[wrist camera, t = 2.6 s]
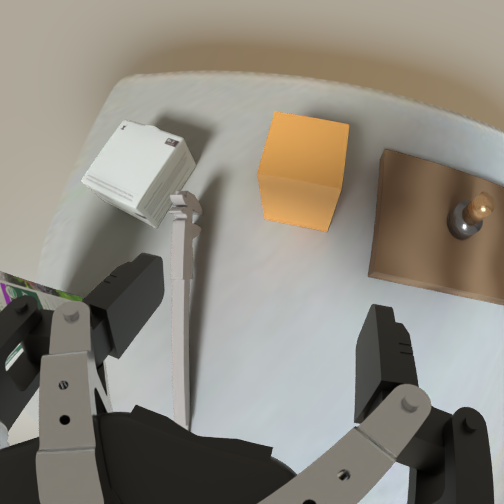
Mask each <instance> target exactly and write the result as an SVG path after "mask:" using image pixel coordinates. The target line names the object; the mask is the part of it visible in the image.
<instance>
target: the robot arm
mask: <svg viewBox="0 0 504 504" xmlns="http://www.w3.org/2000/svg"><path fill="white" fill-rule="evenodd" d="M163 296H164V276H163V261H162V258H161V257H160V256H156V255H151V254H147V253H141V254H140V255H139V256H138V257H137V258H136V259H135V260H134V261H132V262H127V263H125V264H123V265H121V266H119V267H117V268H116V269H115V270H114V271H113V272H112V273H111V274H110V276H108V277H107V278H106V279H104V282H101V283H100V284H99V285H98V286H97V287H96V288H95V289H94V290H93V291H92V292H91V293H90V294H89V295H88V296H87V297H86V298H85V299H84V300H83V301H82V302H81V301H69V302H66V303H63V304H62V305H60V306H59V307H57V308H56V310H47V309H40V308H39V305H38V302H37V300H36V298H34V297H33V296H28V295H25V296H20V297H17V298H15V299H14V300H12V301H11V302H10V303H9V304H8V305H7V306H6V307H5V308H4V309H3V310H2V311H1V312H0V504H357V503H358V502H359V501H360V500H361V499H362V498H363V497H364V496H365V495H366V494H367V493H368V492H369V491H370V490H371V489H372V488H373V487H374V486H375V485H376V483H377V482H378V481H379V480H380V479H381V478H382V477H383V476H384V474H385V473H386V472H387V471H388V470H389V469H390V468H391V466H392V465H393V464H394V463H395V462H398V463H401V464H403V465H406V466H409V467H410V472H409V489H408V501H407V504H494V488H493V474H492V463H491V454H490V446H489V439H488V433H487V426H486V422H485V420H484V418H483V416H482V415H481V414H480V413H479V412H478V411H476V410H475V409H473V408H470V407H462V408H460V409H458V410H457V411H456V412H455V413H454V414H453V415H452V414H449V413H447V412H444V411H442V410H439V409H437V408H434V407H433V406H431V401H430V399H429V397H428V395H427V394H426V393H425V391H423V390H422V389H421V388H419V386H418V379H417V373H416V367H415V361H414V356H413V350H412V347H411V340H410V335H409V333H408V331H407V330H406V328H405V327H404V325H403V324H402V323H397V322H395V318H394V312H393V308H392V307H386V306H381V305H376V304H372V305H371V307H370V309H369V312H368V315H367V317H366V320H365V322H364V324H363V327H362V329H361V332H360V334H359V337H358V340H357V345H356V383H355V414H354V423H360V425H359V426H358V427H356V426H355V427H354V428H353V429H351V430H350V431H349V432H348V433H347V434H346V435H345V436H344V437H343V438H341V439H340V440H339V441H338V442H337V443H336V444H335V445H334V446H332V447H331V448H330V449H329V450H328V451H327V452H325V453H324V454H323V455H322V456H321V457H320V458H318V459H317V460H316V461H315V462H313V463H312V464H311V465H310V466H308V467H307V468H306V469H305V470H303V471H302V472H301V473H300V474H298V475H297V474H296V473H295V472H294V471H293V470H292V469H291V468H290V467H288V466H287V465H286V464H284V463H283V462H281V461H279V460H278V459H276V458H274V457H271V453H272V449H273V447H269V446H264V445H260V444H256V443H251V442H247V441H243V440H239V439H229V438H214V437H202V436H197V435H195V434H193V433H192V432H190V431H188V430H187V429H185V428H183V427H182V426H180V425H179V424H177V423H176V422H174V421H172V420H171V419H169V418H168V417H166V416H163V415H161V414H158V413H156V412H153V411H150V410H148V409H145V408H143V407H140V406H138V405H135V407H134V409H133V410H132V412H131V413H129V412H113V409H112V405H111V401H110V394H109V387H108V379H107V371H106V363H105V358H106V357H107V356H108V355H110V356H113V357H115V358H118V359H119V358H120V357H121V356H122V354H123V353H124V351H125V350H126V349H127V347H128V346H129V345H130V343H131V342H132V341H133V339H134V338H135V337H136V335H137V334H138V333H139V331H140V330H141V329H142V327H143V326H144V325H145V323H146V322H147V321H148V319H149V318H150V317H151V315H152V314H153V313H154V312H155V310H156V309H157V308H158V306H159V305H160V304H161V302H162V299H163ZM19 344H21V347H22V349H23V352H22V353H21V355H20V356H19V357H18V358H17V359H16V361H15V362H14V363H13V364H12V365H11V367H10V368H9V369H8V370H7V371H6V367H5V363H6V360H7V358H8V357H9V355H10V354H11V353H12V352H13V351H14V350H15V348H16V347H17V346H18V345H19ZM39 387H40V388H39ZM38 388H39V437H37V438H34V439H31V440H28V441H25V442H22V443H18V444H15V445H12V446H10V445H9V443H8V441H7V440H8V431H9V430H10V428H11V427H12V425H13V423H14V422H15V421H16V419H17V418H18V416H19V415H20V413H21V412H22V410H23V409H24V408H25V406H26V405H27V403H28V402H29V400H30V399H31V398H32V396H33V395H34V393H35V392H36V391H37V389H38Z"/></svg>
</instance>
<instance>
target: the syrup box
mask: <svg viewBox="0 0 504 504" xmlns="http://www.w3.org/2000/svg"><path fill="white" fill-rule="evenodd" d="M25 295H28V296H33V297H34V298H36V300H37V302H38V305H39V308H40V309H47V310H56V308H57V307H59V306H60V305H62V304H63V303H66V302H69V301H81V302H82V301H83V299H82V297H80V296H77V295H73V294H70V293H66V292H63V291H60V290H56V289H53V288H49V287H46V286H43V285H40V284H37V283H34V282H31V281H27V280H24V279H21V278H18V277H15V276H13V275H10V274H7V273H4V272H1V271H0V312H1V311H2V310H3V309H4V308H5V307H6V306H7V305H8V304H9V303H10V302H11V301H12V300H14V299H15V298H17V297H20V296H25ZM22 352H23V349H22V347H21V344H19V345H18V346H17V347H16V348H15V350H14V351H13V352H12V353H11V354H10V355H9V357H8V358H7V360H6V363H5V367H6V371H7V370H8V369H9V368H10V367H11V365H12V364H13V363H14V362H15V361H16V359H17V358H18V357H19V356H20V355H21V353H22Z"/></svg>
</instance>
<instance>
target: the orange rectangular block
mask: <svg viewBox="0 0 504 504" xmlns="http://www.w3.org/2000/svg"><path fill="white" fill-rule="evenodd" d="M348 133H349V124H344V123H339V122H334V121H329V120H324V119H318V118H312V117H307V116H300V115H294V114H288V113H281V112H274V116H273V119H272V123H271V126H270V130H269V133H268V137H267V140H266V144H265V147H264V151H263V154H262V158H261V161H260V165H259V169H258V172H257V175H258V181H259V187H260V193H261V199H262V205H263V211H264V218H265V219H266V220H271V221H276V222H281V223H286V224H291V225H296V226H301V227H306V228H311V229H315V230H320V231H325V232H327V231H328V228H329V225H330V222H331V219H332V216H333V213H334V210H335V207H336V204H337V201H338V198H339V195H340V192H341V189H342V182H343V175H344V167H345V159H346V151H347V142H348Z"/></svg>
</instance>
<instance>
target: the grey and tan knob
mask: <svg viewBox="0 0 504 504" xmlns="http://www.w3.org/2000/svg"><path fill="white" fill-rule="evenodd" d="M494 209H495V202H494V199H493V198H492V196H491V195H490V194H489V193H487V192H481V193H480V194H479V195H478V196H477V197H475V198H474V199H473V200H472V201H471V202H470V201H461V202H460V203H459V204H458V205H457V206H456V207H455V208H454V209H453V210H451V211H450V212H449V214H448V215H447V220H446V222H447V227H448V230H449V232H450V233H451V234H452V236H453V237H455V238H456V239H458V240H467V239H468V238H470V237H471V236H473V235H474V234H475V233H477V232H478V231H480V229H481V228H482V225H483V219H484V218H485V217H487V216H488V215H489V214H490V213H492V212H493V211H494Z"/></svg>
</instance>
